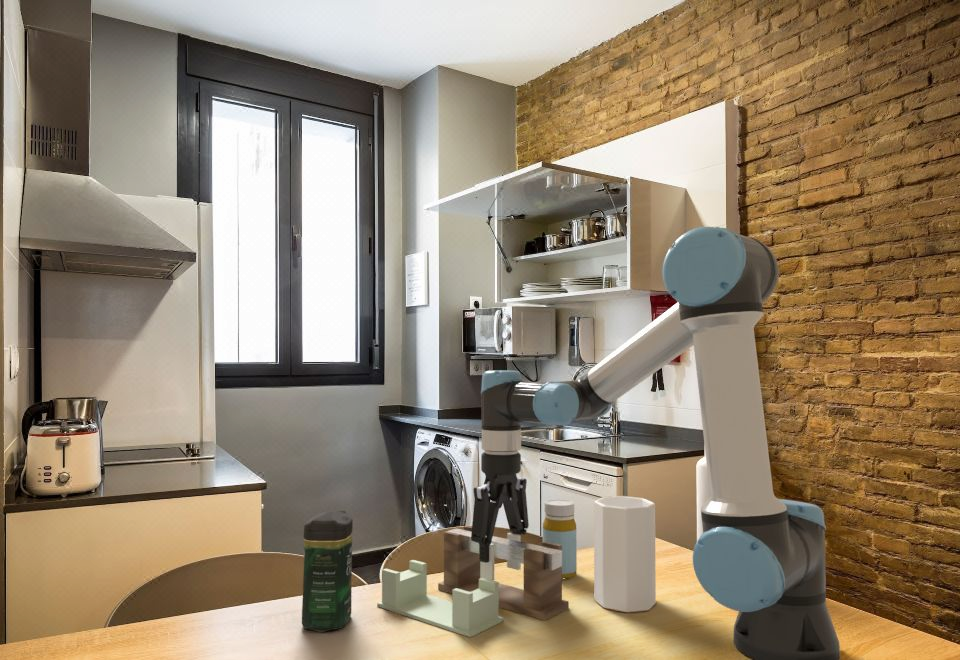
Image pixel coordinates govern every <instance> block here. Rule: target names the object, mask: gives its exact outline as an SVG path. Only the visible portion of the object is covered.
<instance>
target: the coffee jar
mask: <svg viewBox="0 0 960 660" xmlns="http://www.w3.org/2000/svg"><path fill="white" fill-rule="evenodd" d="M353 521H354V520H353V517H352V516H351V515H350V514H349V513H347V511H345V510H329V509H327V510H322V512H320V513H317V514H316V515H313V516H312V517H310V518H309V519H308V520H307V521H306V522H305V523H304V526H303V576H302V577H303V578H302V579H303V581H302V606H301V607H302V608H301V625H302V627H303V629H307V630H311V631H314V632H322V633H323V632H328V631H331V630H337V629H338V630H339V629H342V628H344V626H345V625H346V624H347V623H348V622H349V620H350V618H351V616H352V575H353V573H352V571H353V570H352V569H353V563H352V562H353V533H354V532H353V530H354V528H353V525H354V523H353Z"/></svg>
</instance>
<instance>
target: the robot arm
mask: <svg viewBox="0 0 960 660" xmlns="http://www.w3.org/2000/svg"><path fill="white" fill-rule="evenodd" d="M779 273H780V270H779V264H778V260H777V258H776V256H775V254H774V251H772V249H770V248H769V247H768V245H766V244H765V243H764V242H762V241H760V240H758V239H756V238H754V237H750V236H746V235H743V234H739V233H737V232H735V231H733V230H732V229H729V228H727V227H726V228H725V227H720V226H715V227H714V226H700V227H695V228H693V229H690V230H688V231H686V232H685V233H683V234H682V235H680V236H679V237H678V238H677V239H676V240H675V241H674V242H673V243H672V245H671V246H670V247H669V249H668V250H667V253H666V255H665V257H664V260H663V263H662V279H663V283H664V286H665V289H666V291H667V292H668V294H669V295H671V297H672V298H673V299H674V300H675V301H676V303H675V304H674V305H672V306H671V307H670V308H668V309H667V310H665V312H663V313H662V314H660V315H659V316H658V317H656V318H655V319H654V320H652V321H651V322H650V323H648V324H647V325H646V326H645V327H643V328H642V329H641V330H640V331H638V332H636V334H634V335H633V336H632V337H631V338H629V339H628V340H626V341H625V342H624V343H622V344H621V345H620V346H619V347H617V349H615V350H614V351H612V352H611V353H609V354H608V355H607V356H606V357H604V358H603V359H602V360H601V361H599V362H598V363H597V364H596V365H594V366H593V367H591V369H590V370H588V371H587V372H585V373H584V374H582V375H581V376H580V377H579V378H577V379H575V380H565V381H523V380H522V375H521V373H520V371H518V370H509V369H508V370H507V369H506V370H502V369H500V370H485V372H483V374H482V375H481V376H482V377H481V390H480V398H481V400H480V401H481V450H483V451H484V452H482V453H481V454H480V455H481V458H480V462H481V463H480V464H481V467H480V468H481V469H480V471H481V472H482V473H483V474H484V475H485V477H484V478H485V479H484V482H483V485H480V486H478V485H476V486H475V485H474V487H473V497H474V505H473V513H472V522H471V523H472V524H471V525H472V533H471V541H474V542H477V543H479V553H480V554H479V560H480V578H485V579H489V580H493V581H495V557H494V544H492V543H491V542H492V537H493V536H494V532H495V528H496V524H497V519H498V516H499V512H500V509H501V508H502V507H503V509H504V512H505V516H506V521H507V525H508V528H509V532H507V533H506V539H510V540H514V541H519V542H522V535H524V536H525V535H526V534H527V532H528V531H527V529H529V525H530V524H529V514H528V502H527V492H526V491H527V490H526V489H527V478H523V477H517V474H519V473H520V472H521V470H522V469H521V468H522V463H521V462H522V459H521V458H522V455H521V453H520V452H519V451H521V449H522V429H521V428H522V426H521V425H522V423H532V424H542V425H547V426H567V425H569V424H570V423H572V421H581V420H595V419H597V418H601V417H603V416H606V415H607V414H608V413H609V412H610V410H611V409H612V406H613V405H614V402H615V401H617V400H618V399H619V398H621V397H623V396H624V395H625V394H627V393H628V392H630V391H631V390H633V389H634V388H635V387H636V386H638V385H640V384H641V383H642V382H643V381H645V380H647V379H648V378H649V377H651V376H652V375H654V374H656V372H658V371H659V370H660V369H662V368H663V367H665V366H666V365H668V364H669V363H670V362H672V361H673V360H675V359H676V358H678V357H679V356H681V355H682V354H683V353H685V352H686V351H688V350H689V349H690V348H692V347H693V350H694V359H695V368H696V377H697V387H698V396H699V398H698V399H699V405H700V415H701V424H702V426H701V427H702V433H703V441H704V443H703V445H704V444H705V453H706V463H707V472H708V481H709V490H710V497H709V499H708V500H707V501H706V502H705V503H704V505H703V506H702V507H701V517H702V526H703V534H702V535H701V537H700V538H699V540H698V541H697V540H696V543H695V545H694V547H693V552H692V565H693V567H692V568H693V571H694V574H695V576H696V578H697V581H698V582H699V584H700V585H701V587H702V588H703V590H704V591H705V592H706V593H707V594H708V595H710V597H711V598H713V601H715V602H717V603H719V604H720V605H721V606H723V607H726V608H727V609H730V610H732V611H735V612H737V615H736V619H735V622H734V625H733V630H732V631H733V644H734V647H736V649H737V650H738V651H739V652H740V653H742V654H744V655H746V657H749V658H751V659H753V660H840V659H841V658H840V657H841V651H840V650H841V649H840V641H839V638H838V635H837V632H836V629H835V627H834V626H835V625H834V624H833V621H832V618H831V614H830V612H829V609H828V607H827V595H826V594H827V592H826V591H827V588H826V584H827V581H826V578H827V577H826V531H827V526H826V524H825V514H824V511H823V509H822V508H821V507H819V506H818V505H816V504H814V503H813V504H812V503H809V502H804V501H803V502H802V501H798V500H792V499H791V500H790V499H781V498H778V497H777V496H775V493H774V488H773V478H772V472H771V463H770V455H769V447H768V445H769V444H768V439H767V429H766V421H765V412H764V405H763V396H762V387H761V379H760V371H759V362H758V354H757V347H756V345H757V344H756V338H755V337H756V336H755V330H754V329H755V326H756V325H757V324H758V322H759V321H760V320H761V319H762V317H763V316H764V307H763V305H764V303H766V301H768V300H769V299H770V297H771V296H772V294H773V293H774V291H775V290H776V288H777V285H778V281H779V275H780V274H779ZM521 564H522V563H518V562H513V561H509V560H506V568H508V569H513V570H516V571H519V570H520V571H521V569H522V568H521V566H522V565H521Z"/></svg>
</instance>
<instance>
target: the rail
mask: <svg viewBox="0 0 960 660" xmlns="http://www.w3.org/2000/svg"><path fill="white" fill-rule="evenodd" d="M447 531H448V532H453V533H457V534H461V549H462V550H466V551H470V552H475V553H479V543H477V542H474V541H471V533H472V532H471V531H466V530H464V529H461V528H452V529H450V530H447ZM447 531H445V532H447ZM491 543H492V544H494V558H496V559H502V560H506V561H507V560H509V561H513V562H518V563H521V564H522V565H524V549H532V550H537V551H541V552H544V569H548V570H555V569H557V568H559V567H561V566H562V550H557V549H553V548H548V547H543V546H542V545H539V544H538V545H537V544H533V543H528V542H522V541H521V542H519V541H514V540H510V539H507V538H505V537H500V536H494V535H493V537H492V542H491ZM479 554H480V553H479Z"/></svg>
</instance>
